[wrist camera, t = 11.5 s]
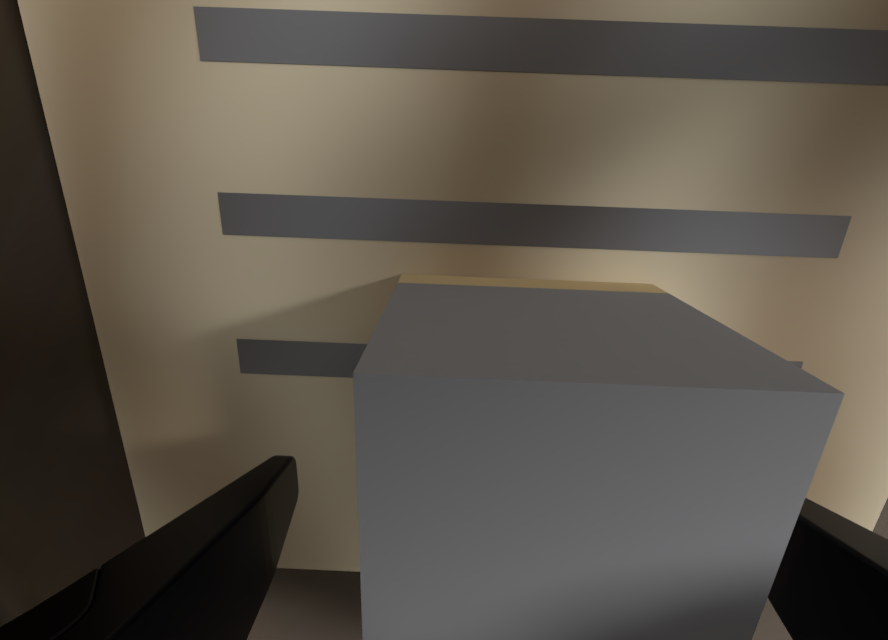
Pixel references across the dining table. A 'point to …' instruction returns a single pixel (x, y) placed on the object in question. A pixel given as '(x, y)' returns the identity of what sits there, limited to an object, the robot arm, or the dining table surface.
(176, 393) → the plywood board
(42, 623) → the robot arm
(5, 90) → the dining table surface
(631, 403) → the block
